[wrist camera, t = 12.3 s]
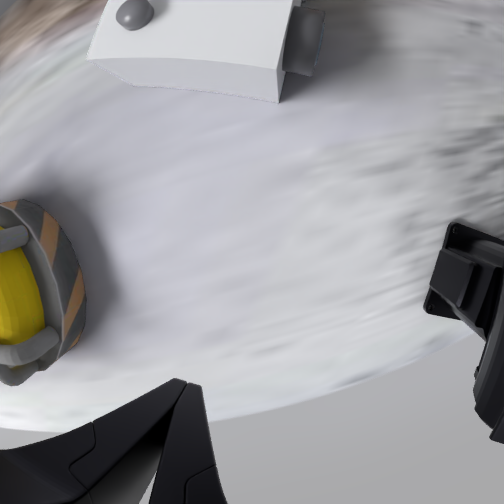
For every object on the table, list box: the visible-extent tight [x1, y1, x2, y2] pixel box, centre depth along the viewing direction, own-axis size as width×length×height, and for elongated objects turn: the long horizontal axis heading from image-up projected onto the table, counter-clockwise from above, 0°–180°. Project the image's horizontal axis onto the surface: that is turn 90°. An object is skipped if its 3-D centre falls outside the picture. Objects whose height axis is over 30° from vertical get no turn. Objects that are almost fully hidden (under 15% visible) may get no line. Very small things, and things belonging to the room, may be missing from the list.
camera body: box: [86, 0, 325, 103], centre depth 14 cm, size 12×8×7 cm, turn 78°
